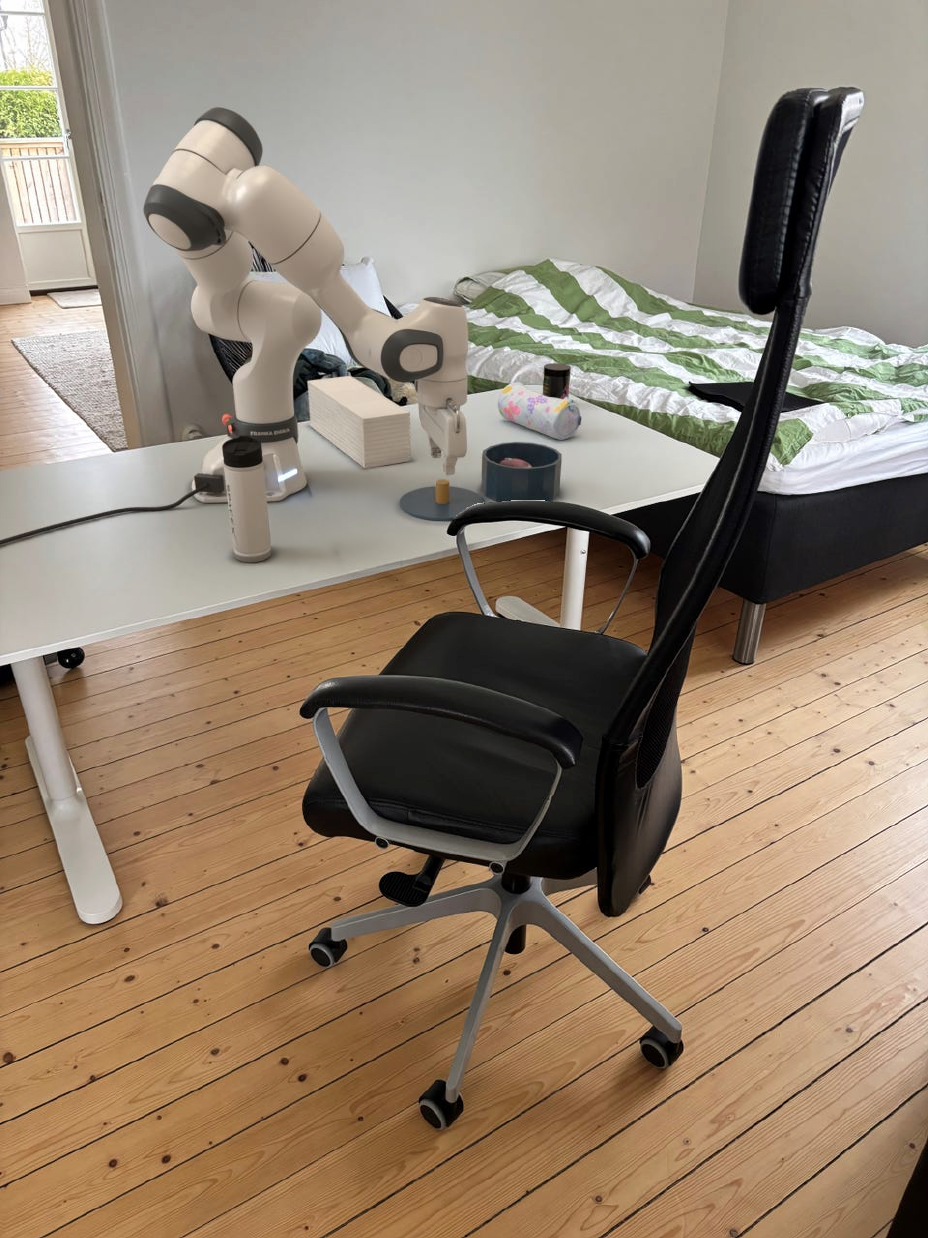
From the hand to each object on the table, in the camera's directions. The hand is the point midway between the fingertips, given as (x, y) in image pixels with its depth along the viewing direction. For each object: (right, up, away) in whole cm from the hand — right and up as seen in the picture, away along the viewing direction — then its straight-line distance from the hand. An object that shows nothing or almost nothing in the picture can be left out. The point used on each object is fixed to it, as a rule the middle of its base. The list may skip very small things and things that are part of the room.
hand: (442, 465), depth 173 cm
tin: (+15, -4, +12) cm, 19 cm away
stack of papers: (-20, +11, +37) cm, 43 cm away
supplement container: (+27, +25, +63) cm, 73 cm away
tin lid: (0, -7, +4) cm, 8 cm away
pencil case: (+21, +16, +47) cm, 54 cm away
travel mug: (-32, -18, -15) cm, 40 cm away
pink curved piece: (+14, -3, +12) cm, 19 cm away
